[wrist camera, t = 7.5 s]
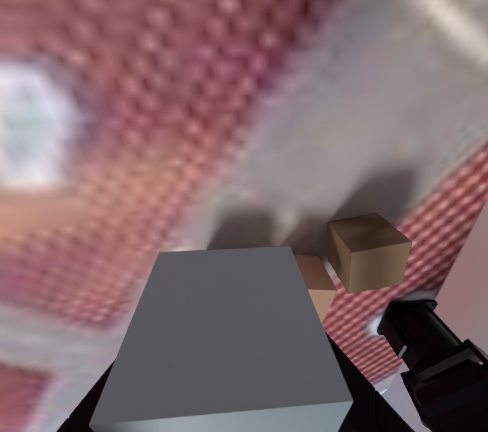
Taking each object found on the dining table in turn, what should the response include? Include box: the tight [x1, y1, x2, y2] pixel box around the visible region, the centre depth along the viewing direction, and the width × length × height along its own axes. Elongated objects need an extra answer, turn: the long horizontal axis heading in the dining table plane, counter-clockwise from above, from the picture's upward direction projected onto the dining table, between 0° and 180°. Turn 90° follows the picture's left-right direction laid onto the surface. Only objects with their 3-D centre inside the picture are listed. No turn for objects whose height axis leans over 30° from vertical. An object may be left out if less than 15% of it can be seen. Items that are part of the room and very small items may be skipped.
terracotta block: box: [294, 255, 338, 323], centre depth 24 cm, size 5×5×5 cm
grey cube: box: [89, 246, 353, 432], centre depth 8 cm, size 5×5×5 cm
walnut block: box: [328, 213, 412, 294], centre depth 22 cm, size 5×5×5 cm
